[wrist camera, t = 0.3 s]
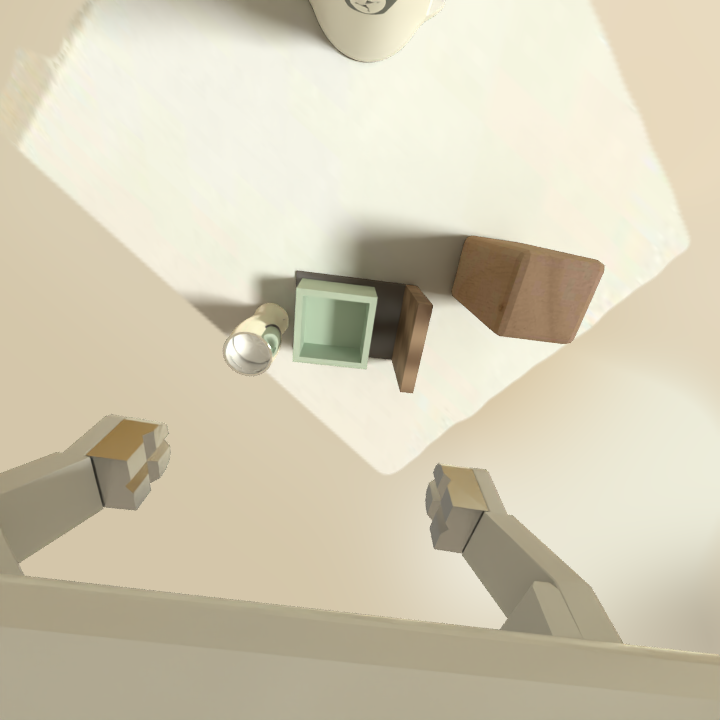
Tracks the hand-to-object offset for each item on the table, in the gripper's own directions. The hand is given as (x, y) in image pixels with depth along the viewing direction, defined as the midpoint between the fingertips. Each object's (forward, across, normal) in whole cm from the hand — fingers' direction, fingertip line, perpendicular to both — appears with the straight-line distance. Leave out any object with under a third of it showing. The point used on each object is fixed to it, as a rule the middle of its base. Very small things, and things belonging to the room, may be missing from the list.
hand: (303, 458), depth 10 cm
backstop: (+47, -2, +12) cm, 49 cm away
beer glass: (+47, +12, +15) cm, 51 cm away
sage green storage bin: (+47, +1, +12) cm, 48 cm away
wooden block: (+49, -22, 0) cm, 54 cm away
